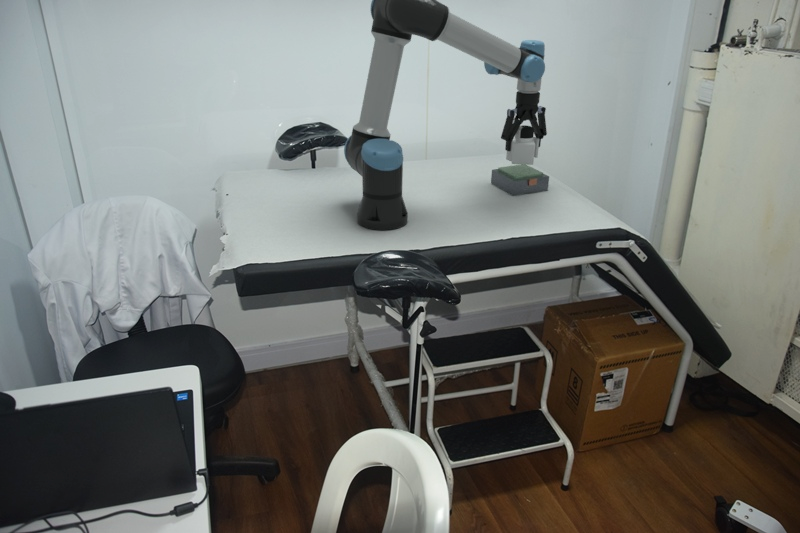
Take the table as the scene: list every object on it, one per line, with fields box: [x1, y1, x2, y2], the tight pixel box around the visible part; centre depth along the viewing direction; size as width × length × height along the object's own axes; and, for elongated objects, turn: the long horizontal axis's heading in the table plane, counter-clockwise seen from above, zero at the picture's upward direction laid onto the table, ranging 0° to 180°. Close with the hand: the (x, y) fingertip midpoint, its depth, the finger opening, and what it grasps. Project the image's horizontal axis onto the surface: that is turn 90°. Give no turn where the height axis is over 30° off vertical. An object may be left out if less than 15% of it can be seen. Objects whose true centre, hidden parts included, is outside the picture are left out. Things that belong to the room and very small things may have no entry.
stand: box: [490, 164, 550, 197], centre depth 212 cm, size 14×15×6 cm
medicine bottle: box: [510, 124, 535, 166], centre depth 207 cm, size 7×7×12 cm
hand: (521, 158), depth 209 cm, fingers closed on medicine bottle, 9 cm apart
